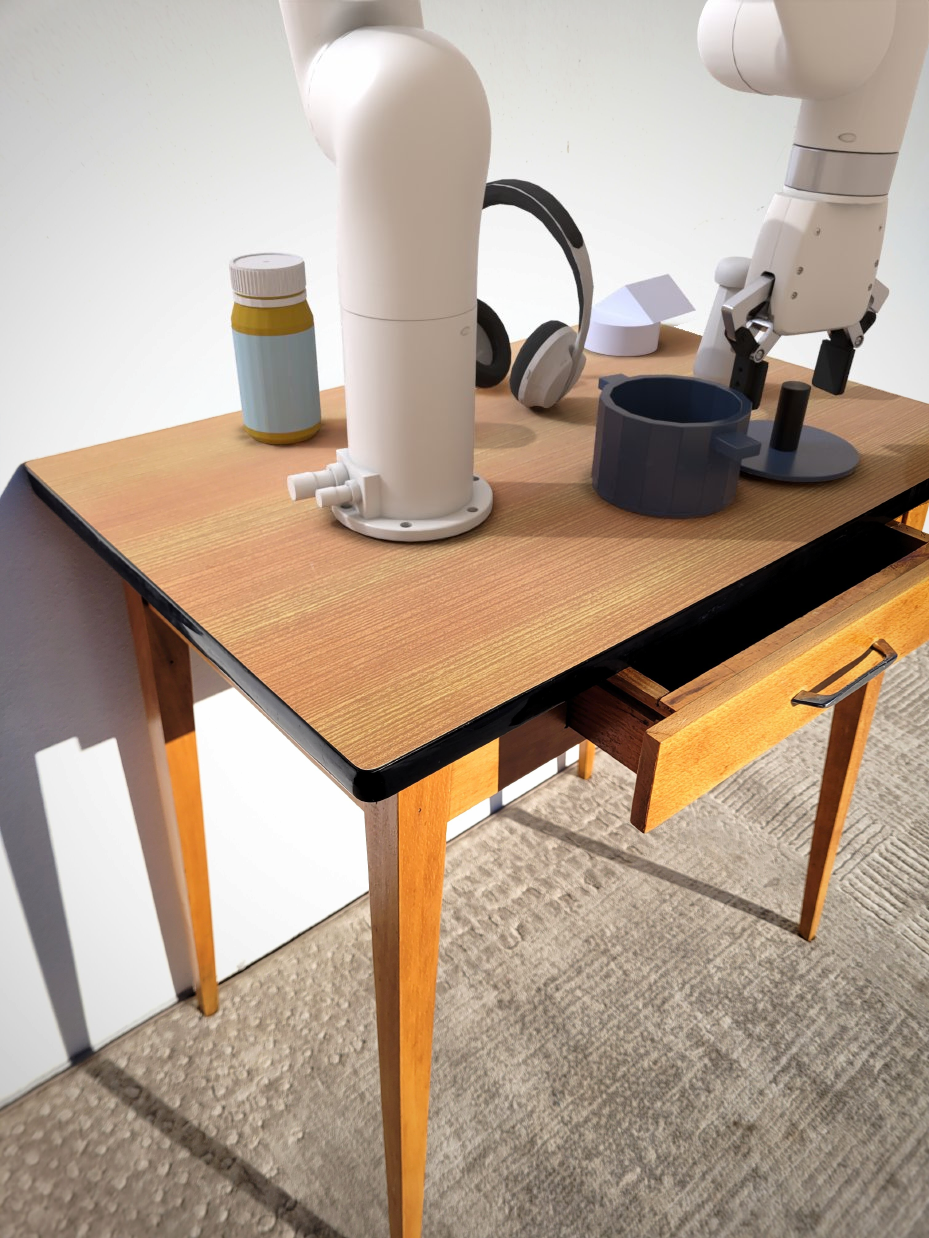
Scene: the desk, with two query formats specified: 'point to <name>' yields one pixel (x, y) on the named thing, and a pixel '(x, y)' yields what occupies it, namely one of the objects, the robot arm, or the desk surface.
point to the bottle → (275, 348)
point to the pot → (670, 444)
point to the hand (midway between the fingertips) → (785, 397)
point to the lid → (797, 443)
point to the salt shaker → (720, 324)
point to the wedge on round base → (635, 317)
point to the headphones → (553, 346)
